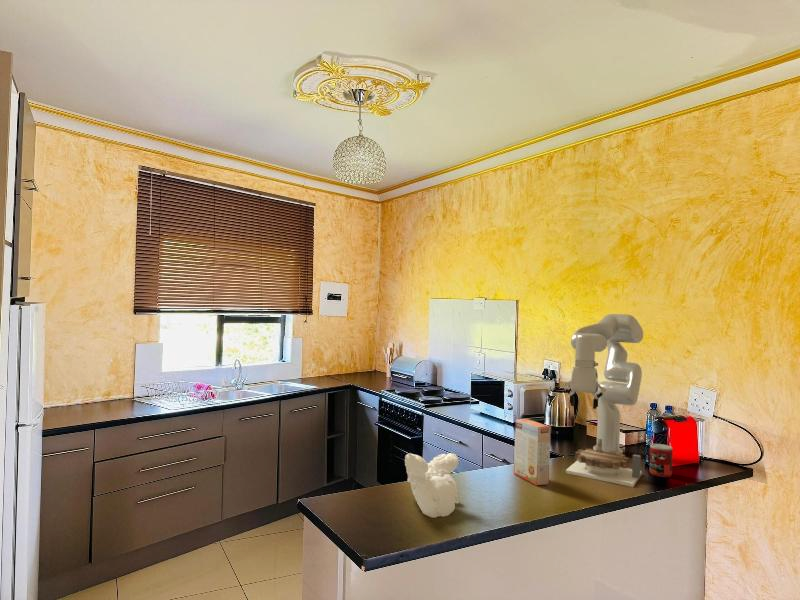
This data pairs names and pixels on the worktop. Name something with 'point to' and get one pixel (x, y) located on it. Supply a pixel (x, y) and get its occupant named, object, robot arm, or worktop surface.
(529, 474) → the cracker box
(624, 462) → the sprocket
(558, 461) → the worktop surface
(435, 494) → the white lumpy piece
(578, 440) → the worktop surface
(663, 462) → the canned food
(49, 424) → the worktop surface
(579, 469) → the stand
